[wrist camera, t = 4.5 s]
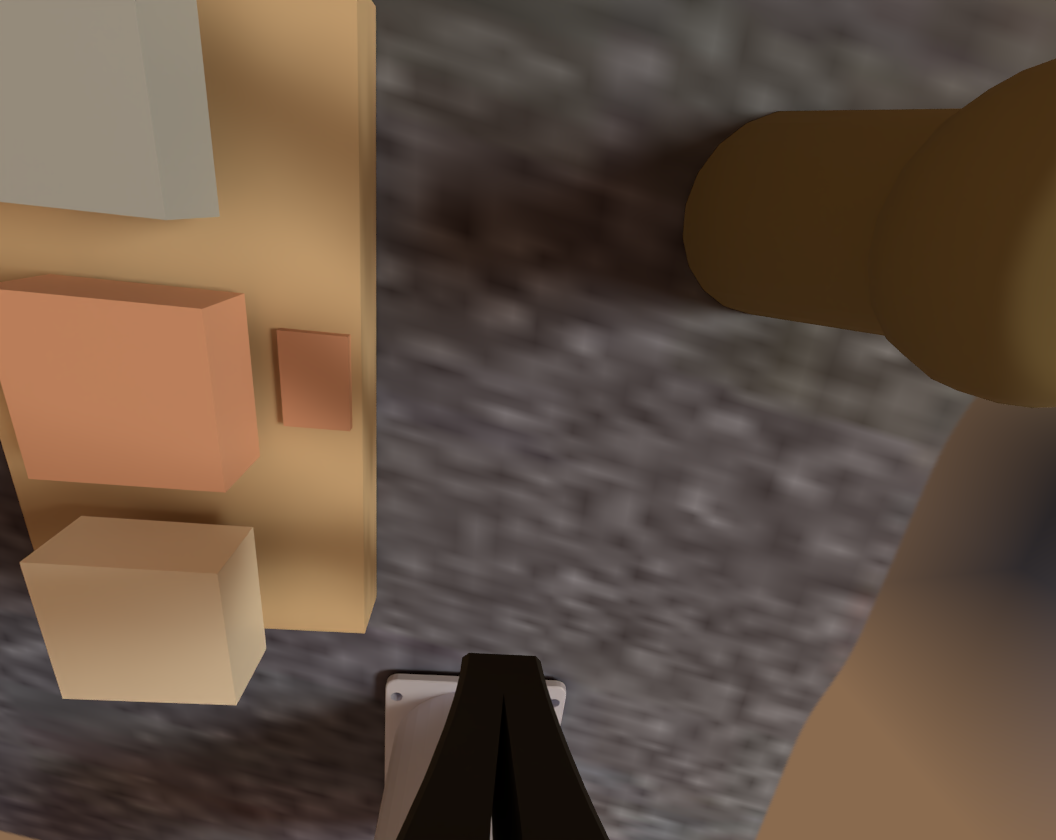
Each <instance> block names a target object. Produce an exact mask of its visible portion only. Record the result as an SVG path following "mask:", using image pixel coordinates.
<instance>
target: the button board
mask: <svg viewBox="0 0 1056 840" xmlns="http://www.w3.org/2000/svg"><path fill="white" fill-rule="evenodd" d="M196 1H197V10H198V19H199V28H200V38H201V47H202V56H203V66H204V75H205V84H206V94H207V103H208V112H209V121H210V131H211V140H212V149H213V159H214V168H215V177H216V186H217V196H218V205H219V214H220V217H207V218H191V219H176V220H161V219H152V218H143V217H134V216H125V215H116V214H106V213H97V212H88V211H79V210H70V209H61V208H52V207H43V206H33V205H24V204H15V203H6V202H0V282H4V281H10V280H16V279H22V278H28V277H34V276H40V275H46V274H55V275H65V276H75V277H85V278H95V279H105V280H115V281H125V282H135V283H145V284H155V285H165V286H175V287H185V288H195V289H205V290H215V291H225V292H235V293H244V294H245V304H246V314H247V325H248V335H249V346H250V356H251V367H252V377H253V387H254V398H255V408H256V419H257V429H258V440H259V450H260V457H259V458H258V459H257V460H256V461H255V462H254V463H253V464H252V465H251V466H250V467H249V468H248V469H247V470H246V472H245V473H244V474H243V475H242V476H241V477H240V478H239V479H238V480H237V481H236V482H235V483H234V484H233V485H232V486H231V487H230V488H229V490H228V491H227V492H226V493H223V492H209V491H195V490H181V489H166V488H152V487H138V486H123V485H109V484H95V483H80V482H66V481H52V480H37V479H28V475H27V472H26V468H25V465H24V461H23V458H22V454H21V451H20V448H19V444H18V441H17V437H16V434H15V430H14V427H13V423H12V420H11V416H10V413H9V410H8V406H7V403H6V399H5V396H4V392H3V389H2V385H1V382H0V440H1V443H2V447H3V450H4V453H5V456H6V460H7V463H8V466H9V470H10V473H11V476H12V480H13V483H14V486H15V489H16V493H17V496H18V499H19V503H20V506H21V509H22V513H23V516H24V519H25V522H26V526H27V529H28V532H29V536H30V539H31V542H32V546H33V549H34V551H35V550H36V549H38V548H39V547H40V546H42V545H43V544H44V543H46V542H47V541H48V540H50V539H51V538H52V537H54V536H55V535H56V534H58V533H59V532H60V531H62V530H63V529H64V528H66V527H67V526H68V525H70V524H71V523H72V522H74V521H75V520H76V519H78V518H79V517H80V516H91V517H107V518H122V519H138V520H153V521H168V522H184V523H199V524H214V525H230V526H245V527H253V530H254V539H255V549H256V558H257V567H258V577H259V586H260V595H261V604H262V614H263V623H264V628H269V629H289V630H309V631H329V632H349V633H365V631H366V628H367V625H368V622H369V618H370V615H371V612H372V609H373V606H374V603H375V600H376V596H377V590H376V6H375V5H374V3H373V2H372V0H196Z"/></svg>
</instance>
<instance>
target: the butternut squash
mask: <svg viewBox="0 0 1056 840" xmlns="http://www.w3.org/2000/svg"><path fill="white" fill-rule="evenodd" d="M683 241H684V246H685V251H686V255H687V260H688V265H689V267H690V269H691V271H692V272H693V274H694V275H695V277H696V279H697V280H698V282H699V284H700V285H701V287H702V289H703V290H704V291H705V292H707V293H708V294H709V295H711V296H712V297H713V298H714V299H716V300H717V301H718V302H719V303H721V304H722V305H723V306H726V307H729V308H732V309H735V310H738V311H741V312H744V313H748V314H752V315H759V316H765V317H771V318H778V319H784V320H790V321H796V322H803V323H809V324H815V325H822V326H828V327H834V328H840V329H847V330H853V331H859V332H866V333H872V334H878V335H884V336H885V337H886V339H887V340H888V341H889V342H890V343H891V344H892V345H894V346H895V347H896V348H897V349H898V350H899V351H900V352H901V353H902V354H903V355H904V356H906V357H907V358H908V359H909V360H910V361H911V362H913V363H914V364H915V365H916V366H917V367H918V368H920V369H921V370H922V371H923V372H924V373H925V374H927V375H928V376H929V377H930V378H931V379H933V380H935V381H938V382H940V383H942V384H944V385H947V386H949V387H951V388H953V389H955V390H958V391H961V392H964V393H967V394H970V395H974V396H977V397H980V398H983V399H986V400H989V401H993V402H996V403H1001V404H1008V405H1015V406H1023V407H1030V408H1038V407H1056V59H1054V60H1051V61H1048V62H1045V63H1043V64H1040V65H1037V66H1034V67H1032V68H1029V69H1026V70H1023V71H1021V72H1020V73H1018V74H1016V75H1014V76H1012V77H1010V78H1009V79H1007V80H1005V81H1003V82H1001V83H1000V84H998V85H996V86H994V87H992V88H991V89H989V90H987V91H986V92H985V93H983V94H982V95H980V96H979V97H978V98H976V99H975V100H973V101H972V102H971V103H969V104H968V105H966V106H965V107H963V108H962V109H906V110H833V111H778V112H775V113H772V114H770V115H767V116H764V117H762V118H759V119H756V120H754V121H751V122H748V123H746V124H745V125H744V126H742V127H741V128H740V129H739V130H737V131H736V132H735V133H733V134H732V135H731V136H729V137H728V138H727V139H726V140H724V141H723V142H722V143H720V144H719V145H718V147H717V148H716V149H715V151H714V152H713V153H712V155H711V156H710V157H709V159H708V160H707V162H706V163H705V164H704V166H703V167H702V168H701V170H700V171H699V172H698V174H697V177H696V179H695V182H694V185H693V187H692V190H691V192H690V195H689V198H688V200H687V203H686V206H685V217H684V228H683Z"/></svg>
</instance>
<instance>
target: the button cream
mask: <svg viewBox="0 0 1056 840" xmlns="http://www.w3.org/2000/svg"><path fill="white" fill-rule="evenodd" d="M19 563H20V566H21V569H22V572H23V576H24V579H25V582H26V585H27V588H28V591H29V594H30V597H31V601H32V604H33V607H34V610H35V613H36V616H37V619H38V622H39V626H40V629H41V632H42V635H43V638H44V641H45V644H46V648H47V651H48V654H49V657H50V660H51V663H52V666H53V669H54V673H55V676H56V679H57V682H58V685H59V688H60V691H61V695H62V698H63V699H86V700H112V701H139V702H165V703H191V704H217V705H237V703H238V701H239V699H240V698H241V696H242V694H243V692H244V690H245V688H246V686H247V684H248V682H249V680H250V679H251V677H252V675H253V673H254V671H255V669H256V667H257V665H258V663H259V662H260V660H261V658H262V656H263V654H264V652H265V650H266V642H265V632H264V623H263V614H262V604H261V595H260V586H259V577H258V567H257V558H256V549H255V539H254V530H253V527H245V526H230V525H214V524H199V523H184V522H168V521H153V520H138V519H122V518H107V517H91V516H80V517H79V518H78V519H76V520H75V521H74V522H72V523H71V524H70V525H68V526H67V527H66V528H64V529H63V530H62V531H60V532H59V533H58V534H56V535H55V536H54V537H52V538H51V539H50V540H48V541H47V542H46V543H44V544H43V545H42V546H40V547H39V548H38V549H36V550H35V551H34V552H32V553H31V554H30V555H28V556H27V557H26V558H24V559H23V560H22V561H20V562H19Z"/></svg>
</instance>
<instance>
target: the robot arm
mask: <svg viewBox="0 0 1056 840" xmlns="http://www.w3.org/2000/svg"><path fill="white" fill-rule="evenodd" d="M565 698H566V688H565V685H564V683H562V682H560V681H556V680H545V677H544V674H543V670H542V666H541V661H540V660H539V659H538V658H537V657H536V656H522V655H501V654H480V653H468V654H467V655H465V656H464V657H462V664H461V670H460V675H459V676H444V675H421V674H393V675H391V676H389V678H388V679H387V683H386V687H385V787H384V792H383V797H382V802H381V807H380V812H379V817H378V822H377V827H376V831H375V836H374V840H609V838H608V836H607V834H606V831H605V829H604V827H603V825H602V823H601V821H600V819H599V817H598V815H597V813H596V810H595V808H594V806H593V804H592V802H591V799H590V797H589V795H588V793H587V790H586V788H585V786H584V783H583V781H582V779H581V776H580V774H579V772H578V769H577V767H576V764H575V762H574V760H573V757H572V755H571V752H570V750H569V748H568V745H567V742H566V740H565V737H564V735H563V732H562V729H561V726H560V725H561V719H562V714H563V709H564V704H565ZM551 699H554V700H551Z"/></svg>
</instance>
